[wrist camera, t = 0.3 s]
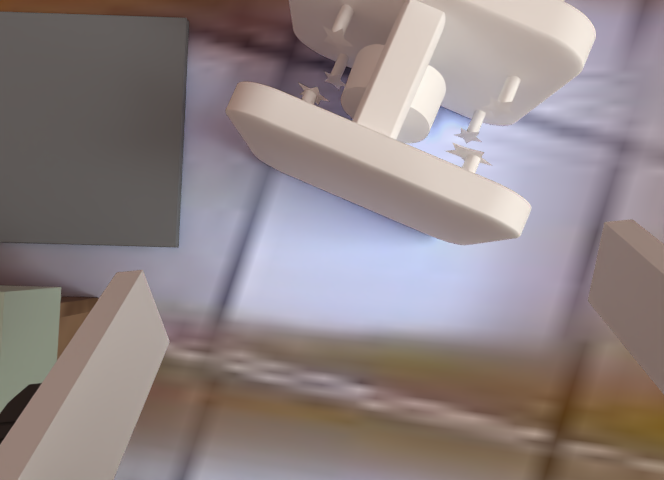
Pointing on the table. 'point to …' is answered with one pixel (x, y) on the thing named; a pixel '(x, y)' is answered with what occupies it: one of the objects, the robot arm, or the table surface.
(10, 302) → the lid
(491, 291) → the table surface
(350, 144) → the cable organizer
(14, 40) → the mat
